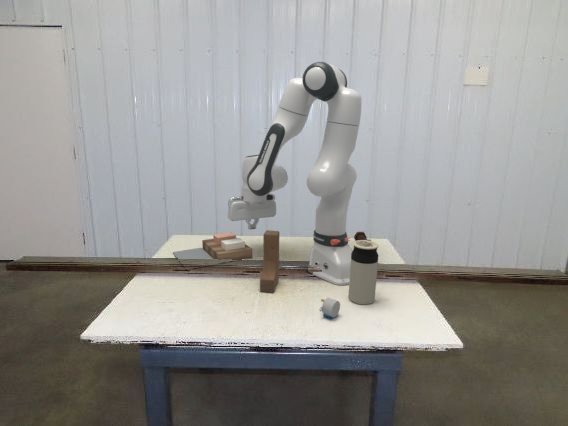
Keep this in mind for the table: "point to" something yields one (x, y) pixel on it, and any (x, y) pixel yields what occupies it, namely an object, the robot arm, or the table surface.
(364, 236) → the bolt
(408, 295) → the table surface
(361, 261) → the travel mug
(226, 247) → the cream tile
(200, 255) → the mat
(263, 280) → the wooden block
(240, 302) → the table surface
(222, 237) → the clay tile
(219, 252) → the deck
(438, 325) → the table surface
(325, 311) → the electric motor
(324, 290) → the table surface
